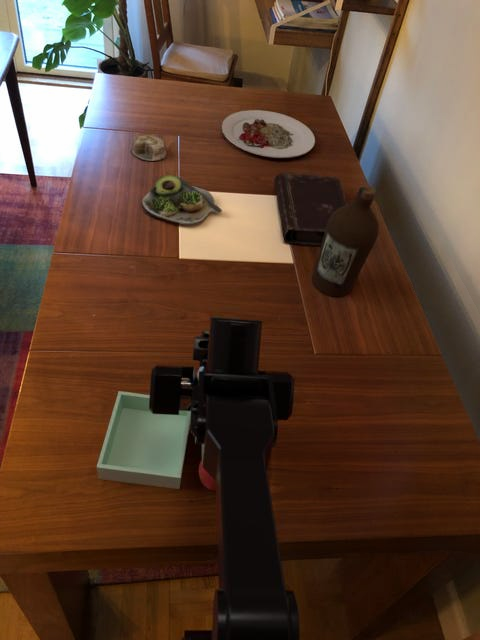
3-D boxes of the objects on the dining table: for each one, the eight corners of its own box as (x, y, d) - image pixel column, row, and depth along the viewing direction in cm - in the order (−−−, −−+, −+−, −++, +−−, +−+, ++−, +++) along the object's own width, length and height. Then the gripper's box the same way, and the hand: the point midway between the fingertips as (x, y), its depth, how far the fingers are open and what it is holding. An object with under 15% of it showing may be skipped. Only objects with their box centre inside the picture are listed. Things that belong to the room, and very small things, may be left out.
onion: (194, 466, 76) (197, 442, 70) (229, 460, 77) (235, 436, 71) (200, 502, 72) (205, 480, 66) (237, 495, 73) (244, 472, 68)
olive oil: (323, 261, 114) (355, 167, 96) (362, 282, 111) (403, 190, 93) (300, 283, 108) (330, 187, 90) (341, 306, 105) (381, 212, 86)
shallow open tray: (179, 491, 73) (180, 477, 69) (99, 481, 72) (96, 467, 68) (191, 416, 82) (193, 400, 78) (120, 406, 81) (118, 390, 77)
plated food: (323, 132, 160) (326, 123, 158) (298, 173, 141) (301, 162, 138) (241, 107, 165) (242, 97, 162) (206, 143, 145) (207, 132, 143)
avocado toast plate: (232, 201, 126) (234, 185, 123) (205, 237, 114) (207, 222, 111) (166, 178, 129) (166, 163, 126) (133, 212, 117) (133, 196, 114)
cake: (138, 142, 141) (138, 124, 137) (170, 150, 140) (172, 133, 137) (126, 156, 133) (126, 137, 130) (160, 164, 133) (161, 146, 129)
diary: (281, 243, 117) (285, 227, 113) (272, 187, 133) (276, 171, 130) (354, 250, 119) (360, 234, 115) (336, 193, 136) (342, 177, 132)
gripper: (310, 341, 56) (283, 332, 72) (151, 330, 54) (158, 323, 70) (302, 434, 57) (277, 405, 72) (144, 427, 55) (153, 398, 70)
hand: (217, 381), depth 71 cm, fingers closed on water bottle, 6 cm apart
